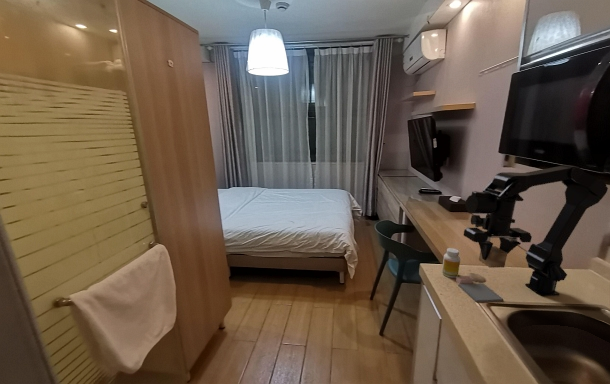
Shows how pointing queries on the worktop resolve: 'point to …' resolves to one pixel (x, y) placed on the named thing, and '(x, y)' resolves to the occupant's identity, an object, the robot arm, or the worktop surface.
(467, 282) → the pink eraser
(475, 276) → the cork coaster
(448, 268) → the supplement bottle
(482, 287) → the slate trivet
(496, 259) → the walnut block
